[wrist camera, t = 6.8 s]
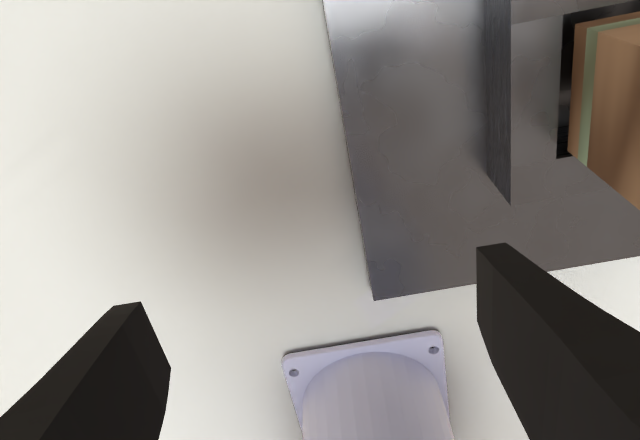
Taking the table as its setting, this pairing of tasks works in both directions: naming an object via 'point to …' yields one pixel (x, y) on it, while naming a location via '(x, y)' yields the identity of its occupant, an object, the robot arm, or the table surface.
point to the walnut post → (608, 101)
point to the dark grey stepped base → (469, 138)
